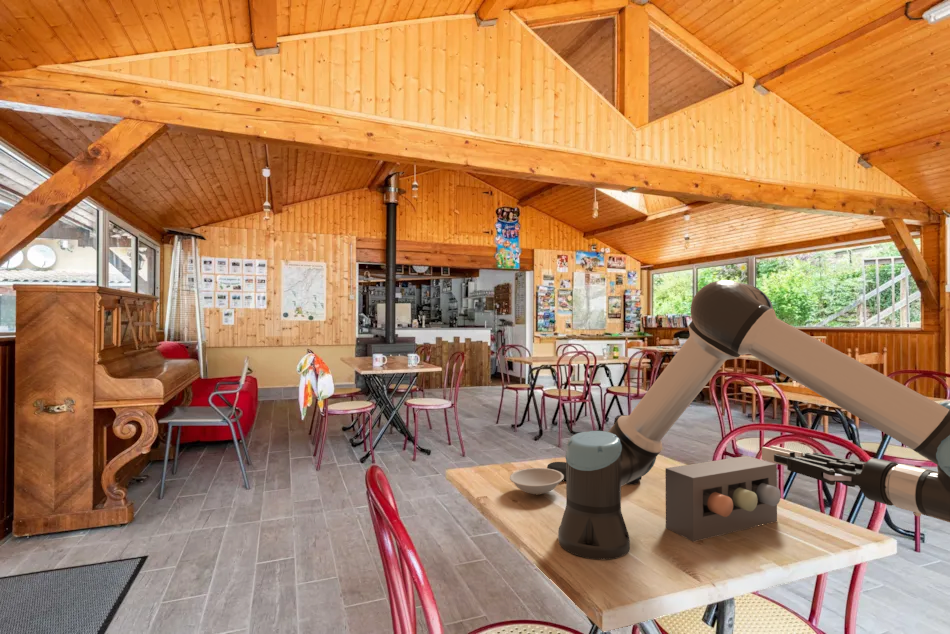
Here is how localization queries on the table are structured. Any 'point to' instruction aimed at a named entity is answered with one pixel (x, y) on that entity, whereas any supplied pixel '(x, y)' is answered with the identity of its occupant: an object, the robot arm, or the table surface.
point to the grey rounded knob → (767, 493)
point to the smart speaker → (558, 467)
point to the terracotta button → (718, 503)
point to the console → (717, 476)
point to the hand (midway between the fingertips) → (767, 452)
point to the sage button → (743, 498)
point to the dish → (536, 480)
